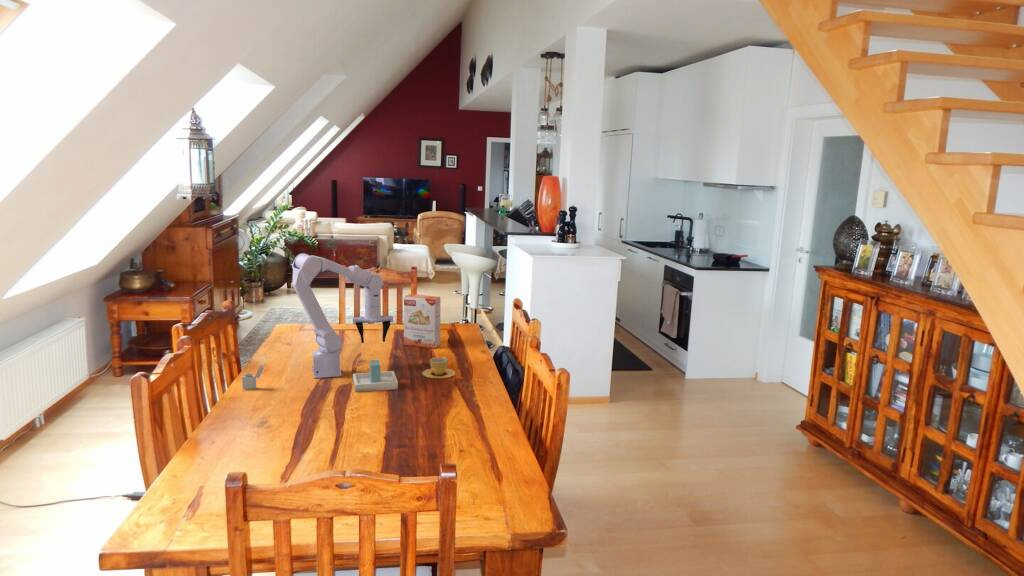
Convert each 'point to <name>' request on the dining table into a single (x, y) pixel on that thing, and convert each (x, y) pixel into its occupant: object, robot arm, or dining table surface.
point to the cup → (439, 368)
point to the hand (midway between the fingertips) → (373, 341)
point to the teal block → (374, 371)
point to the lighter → (251, 379)
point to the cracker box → (422, 321)
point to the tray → (386, 383)
